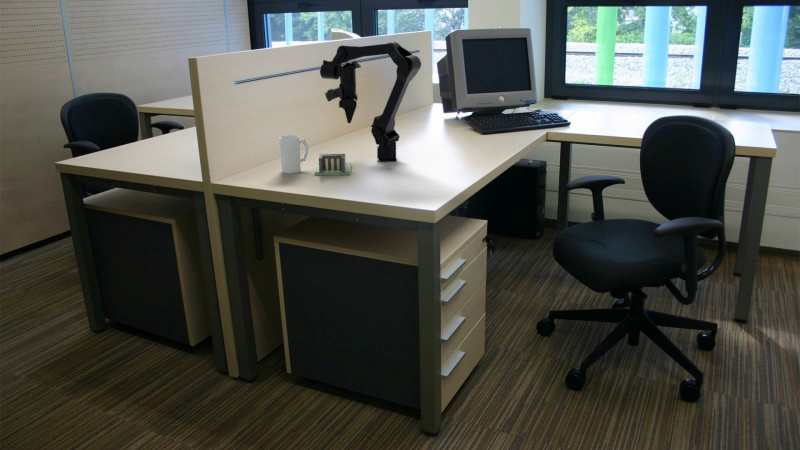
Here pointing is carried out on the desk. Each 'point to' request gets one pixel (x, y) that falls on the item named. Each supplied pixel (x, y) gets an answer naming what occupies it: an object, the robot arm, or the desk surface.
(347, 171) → the board
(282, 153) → the mug
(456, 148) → the desk surface
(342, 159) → the grey c-shaped bracket
